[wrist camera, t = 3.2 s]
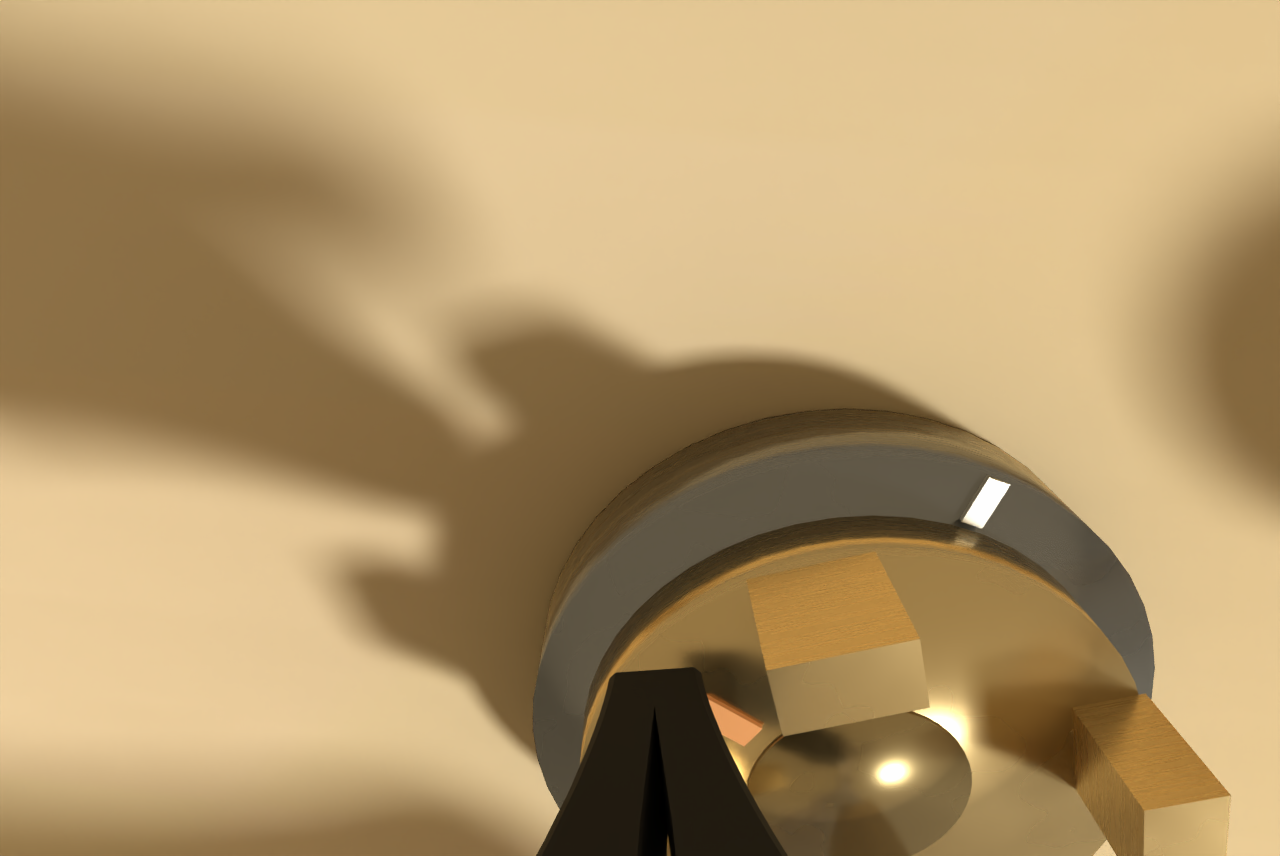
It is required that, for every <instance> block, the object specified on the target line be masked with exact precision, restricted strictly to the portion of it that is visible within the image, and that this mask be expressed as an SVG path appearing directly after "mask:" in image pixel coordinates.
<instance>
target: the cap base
mask: <svg viewBox="0 0 1280 856" xmlns="http://www.w3.org/2000/svg"><path fill="white" fill-rule="evenodd" d="M872 515H875V516H893V517H910V518H917V519H923V520H929V521H934V522H940V523H946V524H951V525H954V526H957V527H960V528H964V529H967V530H970V531H973V532H976V533H980V534H983V535H985V536H988V537H990V538H992V539H994V540H996V541H998V542H1001V543H1003V544H1005V545H1007V546H1009V547H1011V548H1013V549H1015V550H1017V551H1018V552H1020V553H1022V554H1023V555H1025V556H1026V557H1028V558H1029V559H1031V560H1032V561H1034V562H1035V563H1037V564H1038V565H1040V566H1041V567H1043V568H1044V569H1045V570H1046V571H1047V572H1048V573H1049V574H1050V575H1052V576H1053V577H1054V578H1055V579H1056V580H1057V581H1058V582H1059V583H1060V584H1061V585H1063V586H1064V587H1065V588H1066V590H1067V591H1068V592H1069V593H1070V594H1071V595H1072V597H1073V598H1074V599H1075V600H1076V601H1077V603H1078V604H1079V605H1080V606H1081V607H1082V608H1083V610H1084V611H1085V612H1086V613H1087V614H1088V615H1089V617H1090V618H1091V619H1092V620H1093V621H1094V622H1095V624H1096V625H1097V626H1098V627H1099V628H1100V630H1101V631H1102V632H1103V633H1104V634H1105V636H1106V637H1107V638H1108V640H1109V641H1110V642H1111V643H1112V645H1113V646H1114V647H1115V648H1116V650H1117V651H1118V652H1119V654H1120V655H1121V656H1122V658H1123V660H1124V662H1125V664H1126V666H1127V668H1128V670H1129V671H1130V673H1131V675H1132V677H1133V679H1134V681H1135V684H1136V687H1137V691H1138V694H1139V695H1140V694H1145V693H1146V695H1147V696H1148V697H1149V698H1150V699H1151V697H1152V688H1153V678H1154V669H1155V666H1154V652H1153V639H1152V633H1151V629H1150V626H1149V622H1148V618H1147V614H1146V611H1145V607H1144V604H1143V602H1142V600H1141V598H1140V596H1139V594H1138V592H1137V590H1136V587H1135V585H1134V583H1133V581H1132V579H1131V577H1130V575H1129V574H1128V572H1127V571H1126V570H1125V568H1124V567H1123V565H1122V564H1121V563H1120V561H1119V560H1118V559H1117V557H1116V556H1115V555H1114V553H1113V552H1112V550H1111V549H1110V548H1109V547H1108V546H1107V545H1106V544H1105V543H1104V542H1103V541H1102V540H1101V539H1100V538H1099V537H1098V536H1097V535H1096V534H1095V533H1094V532H1093V531H1092V530H1091V529H1090V528H1089V527H1088V526H1087V525H1086V524H1085V523H1084V522H1083V521H1082V520H1081V519H1080V518H1079V517H1078V516H1077V515H1076V514H1075V513H1074V512H1073V511H1072V510H1071V509H1070V508H1069V507H1068V506H1067V505H1066V504H1065V503H1064V502H1062V501H1061V500H1060V499H1059V498H1058V497H1057V496H1056V495H1055V494H1054V493H1053V492H1052V491H1051V490H1050V489H1049V488H1048V487H1047V486H1046V485H1045V484H1044V483H1043V482H1042V481H1041V480H1040V479H1039V478H1038V477H1037V476H1036V475H1035V474H1034V473H1032V472H1031V471H1030V470H1029V469H1028V468H1027V467H1026V466H1024V465H1023V464H1021V463H1020V462H1019V461H1017V460H1016V459H1014V458H1013V457H1011V456H1010V455H1008V454H1007V453H1006V452H1004V451H1003V450H1001V449H1000V448H998V447H996V446H994V445H992V444H990V443H988V442H986V441H984V440H982V439H980V438H978V437H976V436H974V435H972V434H970V433H968V432H966V431H963V430H960V429H957V428H954V427H951V426H948V425H945V424H942V423H939V422H936V421H933V420H930V419H926V418H921V417H915V416H910V415H905V414H899V413H894V412H889V411H873V410H856V409H838V410H822V411H805V412H800V413H794V414H789V415H783V416H777V417H772V418H766V419H762V420H759V421H756V422H752V423H749V424H746V425H742V426H739V427H736V428H733V429H729V430H726V431H723V432H721V433H719V434H716V435H714V436H712V437H709V438H707V439H705V440H703V441H700V442H698V443H696V444H693V445H691V446H689V447H687V448H685V449H683V450H682V451H680V452H678V453H677V454H675V455H673V456H671V457H670V458H668V459H666V460H665V461H663V462H661V463H660V464H658V465H656V466H655V467H653V468H651V469H650V470H649V471H648V472H646V473H645V474H644V475H642V476H641V477H640V478H639V479H637V480H636V481H635V482H633V483H632V484H631V485H630V486H628V487H627V488H626V489H624V490H623V491H622V492H621V493H620V494H619V495H618V496H617V497H616V498H615V499H614V500H613V501H612V502H611V503H610V504H609V505H608V506H607V507H606V508H605V509H604V510H603V511H602V512H601V513H600V514H599V515H598V516H597V517H596V519H595V520H594V521H593V523H592V524H591V525H590V527H589V528H588V529H587V531H586V532H585V533H584V535H583V536H582V537H581V539H580V540H579V541H578V543H577V544H576V546H575V548H574V550H573V551H572V553H571V555H570V557H569V559H568V561H567V562H566V564H565V566H564V568H563V570H562V572H561V574H560V577H559V579H558V582H557V585H556V588H555V591H554V593H553V596H552V599H551V602H550V607H549V612H548V618H547V623H546V628H545V634H544V640H543V646H542V652H541V658H540V663H539V669H538V675H537V681H536V687H535V693H534V699H533V733H534V739H535V745H536V751H537V757H538V761H539V764H540V767H541V770H542V773H543V776H544V779H545V781H546V784H547V787H548V789H549V791H550V792H551V794H552V796H553V798H554V800H555V802H556V804H557V805H558V807H559V809H560V808H561V806H562V804H563V802H564V800H565V798H566V796H567V794H568V792H569V790H570V787H571V785H572V783H573V781H574V778H575V776H576V773H577V771H578V769H579V766H580V759H581V747H582V735H583V724H584V712H585V708H586V703H587V699H588V694H589V690H590V686H591V684H592V681H593V679H594V676H595V674H596V671H597V669H598V666H599V664H600V661H601V660H602V658H603V656H604V655H605V653H606V651H607V650H608V648H609V646H610V645H611V643H612V641H613V640H614V638H615V636H616V635H617V634H618V632H619V631H620V630H621V629H622V627H623V626H624V625H625V624H626V623H627V621H628V620H629V619H630V618H631V617H632V615H633V614H634V613H635V612H636V610H638V609H639V608H640V607H641V606H642V605H643V604H644V603H645V602H646V601H647V600H648V599H649V598H651V597H652V596H653V595H654V594H655V593H656V592H657V591H658V590H659V589H660V588H661V587H663V586H664V585H666V584H667V583H668V582H670V581H671V580H673V579H674V578H675V577H677V576H678V575H680V574H681V573H682V572H684V571H685V570H687V569H688V568H689V567H691V566H693V565H695V564H697V563H698V562H700V561H702V560H704V559H706V558H707V557H709V556H711V555H713V554H715V553H717V552H718V551H720V550H722V549H724V548H727V547H729V546H732V545H734V544H737V543H739V542H742V541H744V540H746V539H749V538H751V537H754V536H756V535H759V534H763V533H766V532H770V531H773V530H777V529H780V528H784V527H787V526H791V525H794V524H800V523H806V522H812V521H817V520H823V519H829V518H837V517H855V516H872Z"/></svg>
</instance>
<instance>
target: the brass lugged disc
mask: <svg viewBox="0 0 1280 856" xmlns="http://www.w3.org/2000/svg"><path fill="white" fill-rule="evenodd" d="M688 667H695V668H696V669H697V670H699V671H700V672H701V673H702V679H703V683H704V687H705V690H706V694H707V697H708V700H709V703H710V706H711V708H712V711H713V714H714V716H715V719H716V721H717V724H718V726H719V729H720V731H721V733H722V736H723V738H724V740H725V742H726V745H727V747H728V749H729V751H730V753H731V755H732V757H733V759H734V761H735V763H736V765H737V767H738V769H739V771H740V773H741V775H742V777H743V779H744V781H745V783H746V785H747V787H748V789H749V790H750V792H751V794H752V796H753V798H754V800H755V801H756V803H757V805H758V807H759V809H760V810H761V812H762V814H763V815H764V817H765V819H766V820H767V822H768V824H769V826H770V827H771V829H772V831H773V832H774V834H775V836H776V837H777V839H778V841H779V842H780V844H781V845H782V847H783V849H784V850H785V852H786V853H787V855H788V856H1093V855H1094V853H1095V852H1096V851H1097V850H1098V849H1099V848H1100V846H1101V845H1102V844H1103V843H1104V842H1105V841H1106V840H1108V842H1109V844H1110V845H1111V847H1112V849H1113V850H1114V852H1115V853H1116V855H1117V856H1226V851H1227V839H1228V826H1229V813H1230V800H1231V795H1230V794H1229V793H1228V791H1227V790H1226V789H1225V788H1224V787H1223V785H1222V784H1221V783H1220V782H1219V781H1218V779H1217V778H1216V777H1215V776H1214V775H1213V774H1212V772H1211V771H1210V770H1209V769H1208V768H1207V766H1206V765H1205V764H1204V763H1203V762H1202V760H1201V759H1200V758H1199V757H1198V756H1197V754H1196V753H1195V752H1194V751H1193V750H1192V748H1191V747H1190V746H1189V745H1188V744H1187V742H1186V741H1185V740H1184V739H1183V738H1182V736H1181V735H1180V734H1179V733H1178V732H1177V730H1176V729H1175V728H1174V727H1173V726H1172V724H1171V723H1170V722H1169V721H1168V720H1167V718H1166V717H1165V716H1164V715H1163V714H1162V712H1161V711H1160V710H1159V709H1158V708H1157V707H1156V705H1155V704H1154V703H1153V702H1152V701H1151V699H1150V698H1149V697H1148V696H1147V695H1146V693H1145V694H1140V695H1139V694H1138V691H1137V687H1136V684H1135V681H1134V679H1133V677H1132V675H1131V673H1130V671H1129V670H1128V668H1127V666H1126V664H1125V662H1124V660H1123V658H1122V656H1121V655H1120V654H1119V652H1118V651H1117V650H1116V648H1115V647H1114V646H1113V645H1112V643H1111V642H1110V641H1109V640H1108V638H1107V637H1106V636H1105V634H1104V633H1103V632H1102V631H1101V630H1100V628H1099V627H1098V626H1097V625H1096V624H1095V622H1094V621H1093V620H1092V619H1091V618H1090V617H1089V615H1088V614H1087V613H1086V612H1085V611H1084V610H1083V608H1082V607H1081V606H1080V605H1079V604H1078V603H1077V601H1076V600H1075V599H1074V598H1073V597H1072V595H1071V594H1070V593H1069V592H1068V591H1067V590H1066V588H1065V587H1064V586H1063V585H1061V584H1060V583H1059V582H1058V581H1057V580H1056V579H1055V578H1054V577H1053V576H1052V575H1050V574H1049V573H1048V572H1047V571H1046V570H1045V569H1044V568H1043V567H1041V566H1040V565H1038V564H1037V563H1035V562H1034V561H1032V560H1031V559H1029V558H1028V557H1026V556H1025V555H1023V554H1022V553H1020V552H1018V551H1017V550H1015V549H1013V548H1011V547H1009V546H1007V545H1005V544H1003V543H1001V542H998V541H996V540H994V539H992V538H990V537H988V536H985V535H983V534H980V533H976V532H973V531H970V530H967V529H964V528H960V527H957V526H954V525H951V524H946V523H940V522H934V521H929V520H923V519H917V518H910V517H893V516H875V515H872V516H855V517H837V518H829V519H823V520H817V521H812V522H806V523H800V524H794V525H791V526H787V527H784V528H780V529H777V530H773V531H770V532H766V533H763V534H759V535H756V536H754V537H751V538H749V539H746V540H744V541H742V542H739V543H737V544H734V545H732V546H729V547H727V548H724V549H722V550H720V551H718V552H717V553H715V554H713V555H711V556H709V557H707V558H706V559H704V560H702V561H700V562H698V563H697V564H695V565H693V566H691V567H689V568H688V569H687V570H685V571H684V572H682V573H681V574H680V575H678V576H677V577H675V578H674V579H673V580H671V581H670V582H668V583H667V584H666V585H664V586H663V587H661V588H660V589H659V590H658V591H657V592H656V593H655V594H654V595H653V596H652V597H651V598H649V599H648V600H647V601H646V602H645V603H644V604H643V605H642V606H641V607H640V608H639V609H638V610H636V612H635V613H634V614H633V615H632V617H631V618H630V619H629V620H628V621H627V623H626V624H625V625H624V626H623V627H622V629H621V630H620V631H619V632H618V634H617V635H616V636H615V638H614V640H613V641H612V643H611V645H610V646H609V648H608V650H607V651H606V653H605V655H604V656H603V658H602V660H601V661H600V664H599V666H598V669H597V671H596V674H595V676H594V679H593V681H592V684H591V686H590V690H589V694H588V699H587V703H586V708H585V712H584V724H583V735H582V747H581V759H580V764H581V762H582V759H583V757H584V755H585V752H586V750H587V747H588V745H589V742H590V740H591V737H592V734H593V731H594V729H595V726H596V723H597V720H598V717H599V715H600V711H601V708H602V705H603V702H604V698H605V695H606V691H607V686H608V682H609V678H610V677H612V676H613V675H614V674H615V673H616V672H630V671H645V670H659V669H674V668H688ZM667 856H671V854H670V847H669V839H668V840H667Z"/></svg>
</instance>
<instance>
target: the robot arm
mask: <svg viewBox="0 0 1280 856" xmlns="http://www.w3.org/2000/svg"><path fill="white" fill-rule="evenodd" d="M668 839H669V847H670V854H671V856H788V855H787V853H786V852H785V850H784V849H783V847H782V845H781V844H780V842H779V841H778V839H777V837H776V836H775V834H774V832H773V831H772V829H771V827H770V826H769V824H768V822H767V820H766V819H765V817H764V815H763V814H762V812H761V810H760V809H759V807H758V805H757V803H756V801H755V800H754V798H753V796H752V794H751V792H750V790H749V789H748V787H747V785H746V783H745V781H744V779H743V777H742V775H741V773H740V771H739V769H738V767H737V765H736V763H735V761H734V759H733V757H732V755H731V753H730V751H729V749H728V747H727V745H726V742H725V740H724V738H723V736H722V733H721V731H720V729H719V726H718V724H717V721H716V719H715V716H714V714H713V711H712V708H711V706H710V703H709V700H708V697H707V694H706V690H705V687H704V683H703V679H702V673H701V672H700V671H699V670H697V669H696V668H695V667H688V668H674V669H659V670H645V671H630V672H616V673H615V674H614V675H613V676H612V677H610V678H609V682H608V686H607V691H606V695H605V698H604V702H603V705H602V708H601V711H600V715H599V717H598V720H597V723H596V726H595V729H594V731H593V734H592V737H591V740H590V742H589V745H588V747H587V750H586V752H585V755H584V757H583V759H582V762H581V764H580V766H579V769H578V771H577V773H576V776H575V778H574V781H573V783H572V785H571V787H570V790H569V792H568V794H567V796H566V798H565V800H564V802H563V804H562V806H561V808H560V810H559V812H558V814H557V816H556V818H555V820H554V822H553V824H552V826H551V828H550V830H549V833H548V835H547V837H546V839H545V841H544V842H543V844H542V846H541V848H540V850H539V852H538V854H537V855H536V856H667V840H668Z"/></svg>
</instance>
